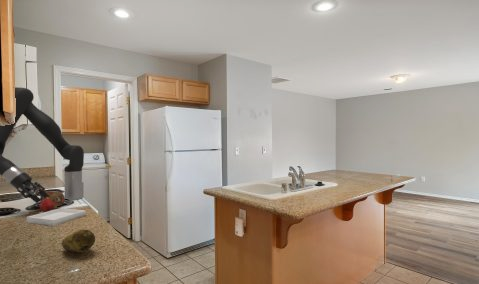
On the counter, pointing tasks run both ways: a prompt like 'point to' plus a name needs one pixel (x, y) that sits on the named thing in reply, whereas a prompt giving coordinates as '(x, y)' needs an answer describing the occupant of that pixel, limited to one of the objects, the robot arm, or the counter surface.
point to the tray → (56, 216)
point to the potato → (79, 241)
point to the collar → (39, 211)
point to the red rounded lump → (46, 205)
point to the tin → (55, 197)
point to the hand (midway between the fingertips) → (43, 199)
